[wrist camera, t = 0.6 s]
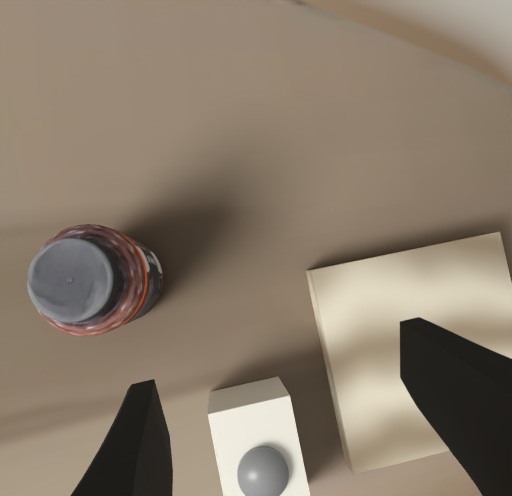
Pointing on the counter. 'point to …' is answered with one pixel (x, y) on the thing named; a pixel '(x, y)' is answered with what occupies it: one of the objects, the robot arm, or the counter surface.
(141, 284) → the supplement bottle
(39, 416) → the counter surface
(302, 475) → the housing
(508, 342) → the stand
